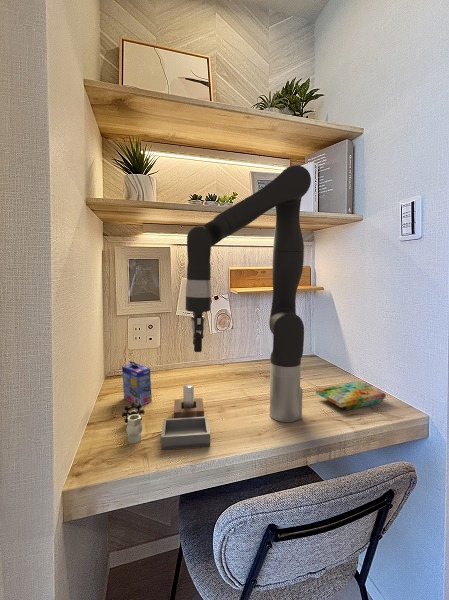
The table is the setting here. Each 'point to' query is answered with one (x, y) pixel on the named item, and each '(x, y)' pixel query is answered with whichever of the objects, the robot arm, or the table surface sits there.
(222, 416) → the table surface
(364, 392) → the puzzle game
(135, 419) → the valve
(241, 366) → the table surface
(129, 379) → the ink cartridge box
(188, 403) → the pin
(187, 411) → the pin block
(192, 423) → the tray
